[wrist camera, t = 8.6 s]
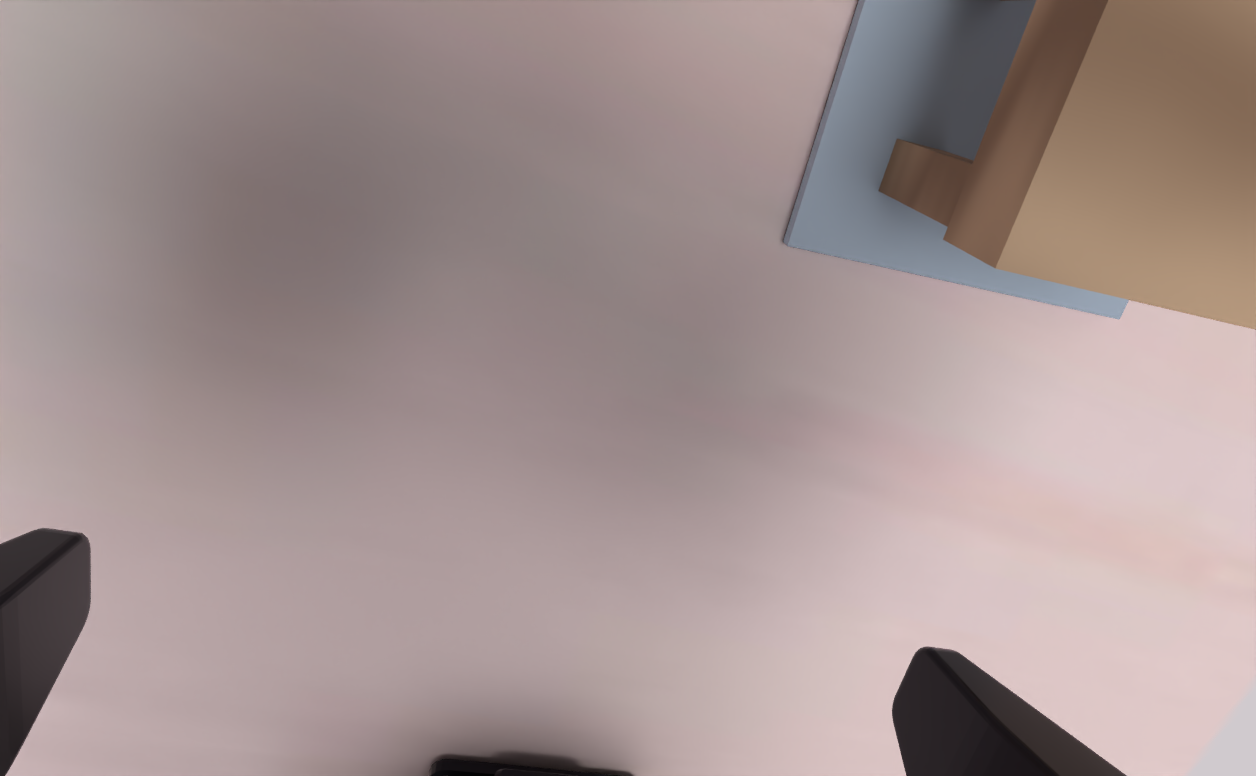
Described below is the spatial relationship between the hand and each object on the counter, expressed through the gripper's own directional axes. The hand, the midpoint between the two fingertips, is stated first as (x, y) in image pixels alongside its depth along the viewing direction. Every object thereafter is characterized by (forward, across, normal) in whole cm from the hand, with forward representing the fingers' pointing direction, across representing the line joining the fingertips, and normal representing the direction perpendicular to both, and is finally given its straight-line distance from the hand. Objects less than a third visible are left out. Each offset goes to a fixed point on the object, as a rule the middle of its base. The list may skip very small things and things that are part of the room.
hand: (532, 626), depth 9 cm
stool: (+12, -10, -7) cm, 17 cm away
